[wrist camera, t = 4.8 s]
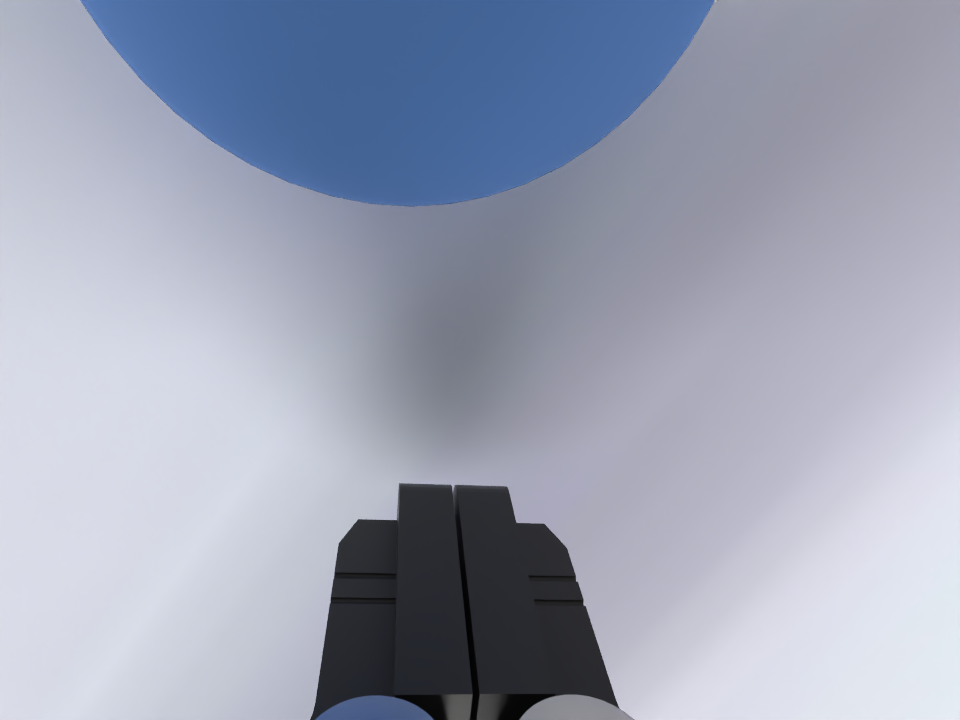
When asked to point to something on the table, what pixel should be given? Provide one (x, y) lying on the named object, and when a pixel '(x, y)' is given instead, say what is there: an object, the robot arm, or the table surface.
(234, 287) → the table surface
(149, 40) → the ball
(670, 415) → the table surface
